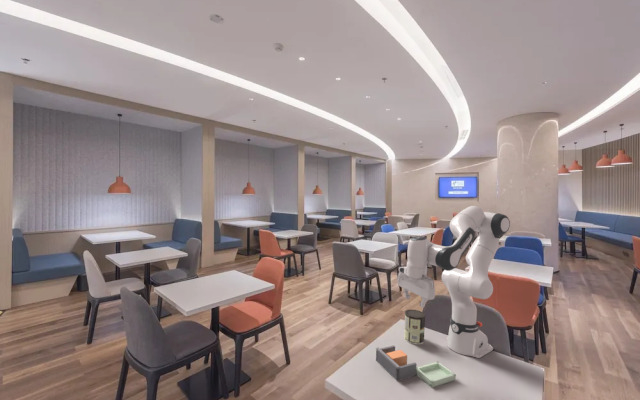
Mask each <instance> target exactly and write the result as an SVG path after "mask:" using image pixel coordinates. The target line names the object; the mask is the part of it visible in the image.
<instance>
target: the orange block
mask: <svg viewBox="0 0 640 400" xmlns="http://www.w3.org/2000/svg"><path fill="white" fill-rule="evenodd" d="M386 355H388V356H389V357H390V358H391V359H392V360H393V361H394V362H395V363H397V364H398V365H399V366H403V365H407V364H408V355H407V354H406V352H404V351H403V350H401V349H398V350H395V351H393V352H389V353H386Z"/></svg>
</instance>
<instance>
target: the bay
mask: <svg viewBox="0 0 640 400" xmlns="http://www.w3.org/2000/svg"><path fill="white" fill-rule="evenodd" d="M375 349H376V350H375V351H376V353H375V361H376V362H377V363H378V364H379V365H380V366H381V367H382V368H383V369H384V370H385V371H386V372H387V373H389V375H390V376H392V378H394V379H395V380H396V381H397V382H398V381H402V380H405V379H408V378H411V377H414V376H417V375H416V367H418V365H417V363H416V362H412V363H407V365H403V366H399V365H398V364H397V363H395V362H394V361H393V360H392V359H391V358H390V357H389V356H388V355H386V353H389V352H393V351H396V346H395V345H390V346H386V347H381V348H380V347H379V346H377V347H375Z"/></svg>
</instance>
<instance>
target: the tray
mask: <svg viewBox="0 0 640 400" xmlns="http://www.w3.org/2000/svg"><path fill="white" fill-rule="evenodd" d="M415 376H418V378H420V379H421V380H422V381H423V382H425V383H426V384H427V385H428V386H429V387H430V388H431V389H433V388H436V387H438V386H443V385H444V384H447V383H451V382H454V381H456V378H457V375H456V373H454V372H453V371H452V370H450V369H449V368H448V367H447V366H445V365H443V364H442V363H441V362H439V361H434V362H431V363H427V364H424V365H420V366H416V375H415Z"/></svg>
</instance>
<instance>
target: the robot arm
mask: <svg viewBox="0 0 640 400" xmlns="http://www.w3.org/2000/svg"><path fill="white" fill-rule="evenodd" d="M510 226H511V222H510V219H509V217H508V216H507V215H505V214H502V213H497V212H489V211H484V210H483V209H482V208H481V207H479V206H477V205H470V206H467V207H466V208H464V209H462V210H461V211H460V212H458V213H457V214H455V216H453V217H452V219H451V220H450V222H449V230H450V231H451V233H452V235H453V236H454V237H455V238H456V239H455V241H454V242H453V244H452V245H449V246H444V245H440V244H436V243H434V242H431V241H429V239H428V238H427V237H426V236H423V235H422V236H421V235H417V236H416V235H415V236H412V237H410V239H409V240H408V242H407V243H408V245H407V252H406V253H407V254H406V255H407V261H406V266H399V267H398V274H397V285H398V286H399V287H401V288H402V289H403V292H404V298H405V299H406V300H410V299H411V295H410V293H409V292H411V293H412V294H415V295H417V296H419V297H421V301H420V302H419V307H421V308H425V306H426V303H427V301H430V300H434V299H435V298H436V289H435V288H436V286H435V281H434V280H433V278H432V277H429V276H427V273H428V264H429V265H430V266H431V265H432V266H434V267H438V268H440V269H442V270H443V271H442V272H441V282H442V283H443V285H444V286H445V287H446V289H447V291H448V293H449V297H450V300H451V316H450V321H449V322H450V325H449V329H448V336H446V345H447V346H448V349H451V350H452V351H453V352H455V353H458V354H460V355H463V356H470V357H474V358H477V359H480V358H482V357H484V356H485V355H487V354H489V353H490V352H492V351H493V350H494V347H493V346H492V345H491V344H490V343H489V341H488V340H489V339H488V336H487V334H485V333H484V332H483V331H482V330H480V329H479V327H480V328H481V327H483V323H482V322H480V321H477V317H478V315H477V314H478V309H477V306H476V304H475V303H474V302H473V301H472V299H471V298H470V297H472V298H475V299H479V300H480V299H481V300H487V299H489V298H490V297H491V296H492V294H493V292H494V286H493V283H492V281H491V280H490V277H489V273H488V272H489V268H490V265H491V263H492V261H493V258H494V257H495V255H496V253H497V250H498V248H499V245H500V239H501V238H502V237H503V236H504V235H506V234H507V232H508V231H510V230H509V229H510ZM475 232H477V233H478V235H477V237H476V233H475ZM475 237H476V238H475ZM471 244H472V245H471ZM469 247H470V248H469ZM468 248H469V249H468ZM467 250H468V251H467ZM466 252H467V253H466ZM465 253H466V255H465V262H466V263H467V265H468V266H469V269H468V270H467V271H466V270H462V269H460V268H457V267H458V266H459V263H460V262H461V259H462V257H463V255H464V254H465Z"/></svg>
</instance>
